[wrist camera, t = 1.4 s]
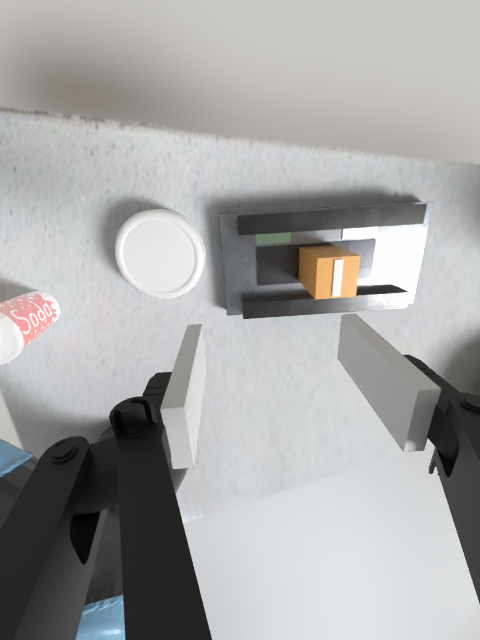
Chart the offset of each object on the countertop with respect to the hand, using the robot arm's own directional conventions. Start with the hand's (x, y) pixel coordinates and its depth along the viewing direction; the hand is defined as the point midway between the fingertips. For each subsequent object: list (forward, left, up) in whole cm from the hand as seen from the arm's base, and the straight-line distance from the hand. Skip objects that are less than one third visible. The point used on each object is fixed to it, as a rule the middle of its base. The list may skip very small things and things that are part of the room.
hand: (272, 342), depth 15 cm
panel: (+9, 0, -21) cm, 23 cm away
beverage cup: (-27, -4, -21) cm, 35 cm away
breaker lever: (+8, 0, -19) cm, 20 cm away
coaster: (-10, +2, -22) cm, 24 cm away
